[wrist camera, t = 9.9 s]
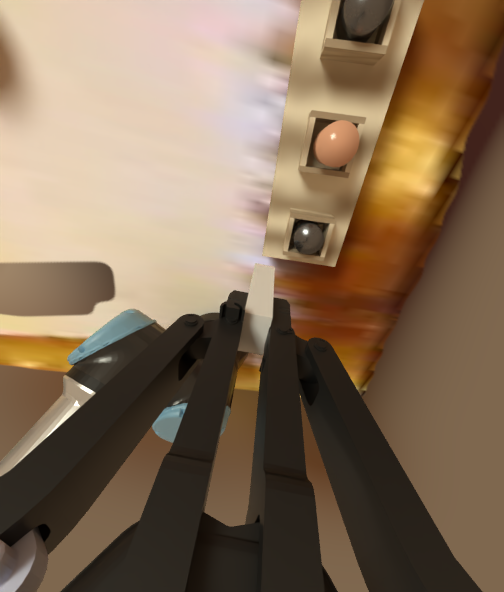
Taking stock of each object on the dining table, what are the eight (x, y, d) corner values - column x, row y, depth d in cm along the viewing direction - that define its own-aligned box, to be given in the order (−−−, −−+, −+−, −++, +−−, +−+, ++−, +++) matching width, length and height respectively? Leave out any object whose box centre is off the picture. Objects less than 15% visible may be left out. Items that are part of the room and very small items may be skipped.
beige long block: (328, 253, 44) (339, 276, 36) (264, 243, 44) (260, 264, 36) (409, -9, 27) (464, -79, 19) (305, -22, 27) (315, -96, 19)
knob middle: (342, 167, 29) (351, 169, 25) (309, 163, 29) (313, 164, 25) (353, 127, 27) (365, 123, 23) (318, 122, 27) (324, 117, 23)
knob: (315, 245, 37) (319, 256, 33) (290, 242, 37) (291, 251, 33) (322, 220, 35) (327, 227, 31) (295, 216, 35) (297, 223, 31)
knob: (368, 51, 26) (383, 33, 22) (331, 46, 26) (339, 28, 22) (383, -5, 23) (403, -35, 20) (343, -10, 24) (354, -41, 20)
